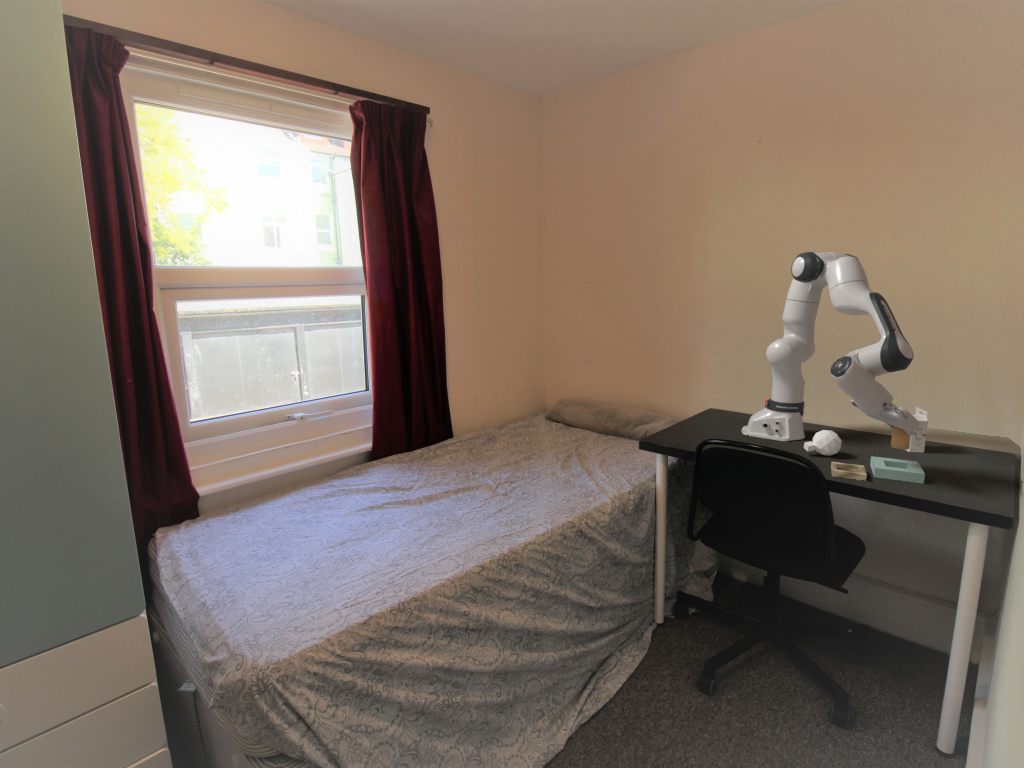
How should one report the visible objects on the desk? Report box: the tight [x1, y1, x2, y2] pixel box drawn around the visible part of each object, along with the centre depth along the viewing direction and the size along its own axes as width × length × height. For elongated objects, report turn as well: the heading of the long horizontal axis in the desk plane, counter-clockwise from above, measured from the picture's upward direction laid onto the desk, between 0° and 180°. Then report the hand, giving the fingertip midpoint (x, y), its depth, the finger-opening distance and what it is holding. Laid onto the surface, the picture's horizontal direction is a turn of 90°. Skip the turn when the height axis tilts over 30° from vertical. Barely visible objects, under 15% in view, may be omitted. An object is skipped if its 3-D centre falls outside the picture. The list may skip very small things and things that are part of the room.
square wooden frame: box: [830, 461, 867, 482], centre depth 163 cm, size 9×9×2 cm
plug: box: [890, 426, 911, 450], centre depth 160 cm, size 5×5×10 cm
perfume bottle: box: [803, 429, 843, 457], centre depth 181 cm, size 9×9×12 cm
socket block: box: [869, 455, 926, 484], centre depth 162 cm, size 12×12×3 cm
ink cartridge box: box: [904, 406, 929, 454], centre depth 184 cm, size 9×5×15 cm, turn 168°
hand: (903, 430), depth 160 cm, fingers closed on plug, 5 cm apart
